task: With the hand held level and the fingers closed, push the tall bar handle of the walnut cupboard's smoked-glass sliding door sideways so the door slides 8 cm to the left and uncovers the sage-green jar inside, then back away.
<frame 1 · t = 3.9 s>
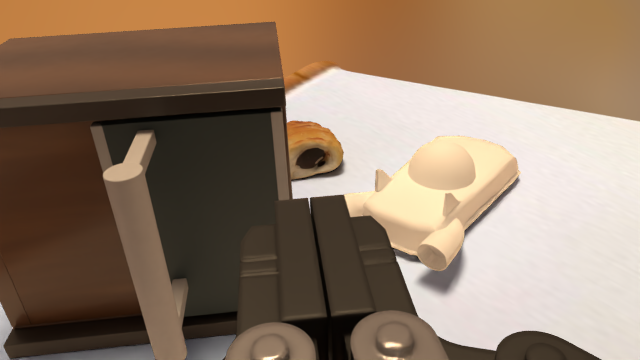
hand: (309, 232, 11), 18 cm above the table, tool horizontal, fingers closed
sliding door: (203, 254, 27), point 8 cm above the table, slide at 0.0 cm
plane toy: (441, 205, 45), on the table
cupboard: (174, 266, 39), on the table
pastry: (305, 161, 52), on the table
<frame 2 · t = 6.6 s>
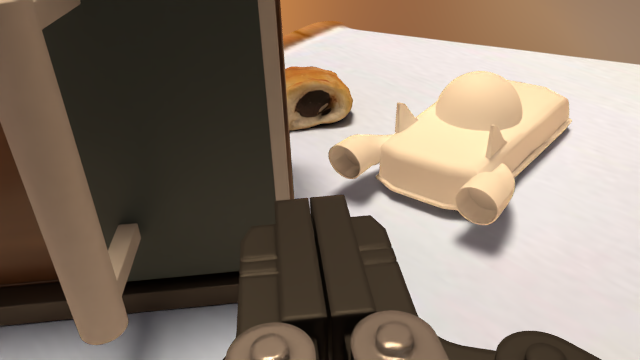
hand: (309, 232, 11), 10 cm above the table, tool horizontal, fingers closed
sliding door: (152, 176, 18), point 8 cm above the table, slide at 0.0 cm
plane toy: (476, 157, 36), on the table
cupboard: (136, 223, 30), on the table
pastry: (306, 113, 44), on the table
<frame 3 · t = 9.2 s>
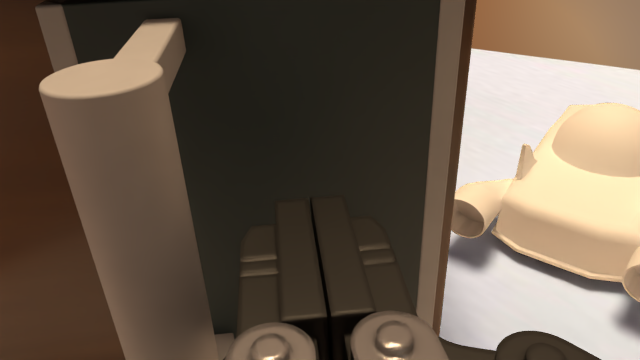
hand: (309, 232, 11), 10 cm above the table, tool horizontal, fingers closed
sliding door: (283, 298, 12), point 8 cm above the table, slide at 0.5 cm, touching gripper
plane toy: (595, 201, 30), on the table
cupboard: (209, 295, 24), on the table
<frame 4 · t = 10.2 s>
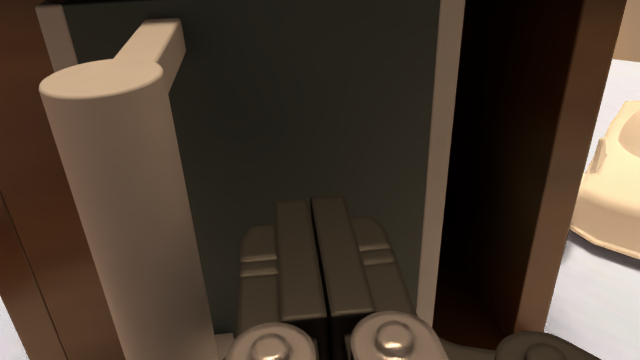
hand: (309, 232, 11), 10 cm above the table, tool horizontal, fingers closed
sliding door: (283, 298, 12), point 8 cm above the table, slide at 4.5 cm, touching gripper
cupboard: (294, 286, 25), on the table
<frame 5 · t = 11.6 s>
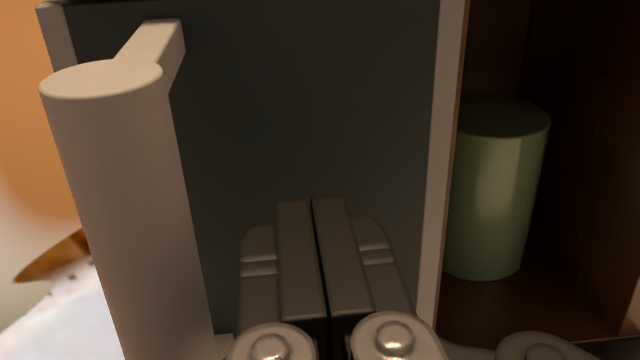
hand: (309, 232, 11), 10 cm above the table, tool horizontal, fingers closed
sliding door: (283, 298, 12), point 8 cm above the table, slide at 8.7 cm, touching gripper
cupboard: (382, 278, 25), on the table
green jar: (472, 250, 25), resting on cupboard
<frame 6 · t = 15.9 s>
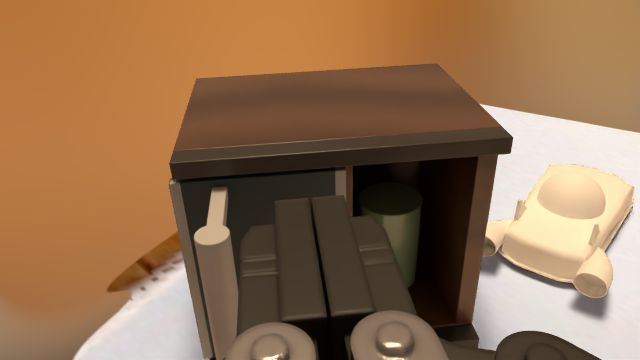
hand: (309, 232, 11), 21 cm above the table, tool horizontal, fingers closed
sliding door: (269, 302, 29), point 8 cm above the table, slide at 8.7 cm
plane toy: (565, 231, 47), on the table
cupboard: (333, 290, 41), on the table
green jar: (386, 273, 41), resting on cupboard
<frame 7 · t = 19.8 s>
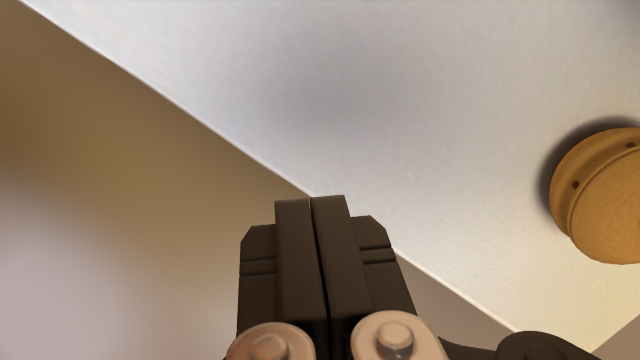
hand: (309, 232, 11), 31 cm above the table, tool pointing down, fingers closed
pot: (591, 168, 49), on the table
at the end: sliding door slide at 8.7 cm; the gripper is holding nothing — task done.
